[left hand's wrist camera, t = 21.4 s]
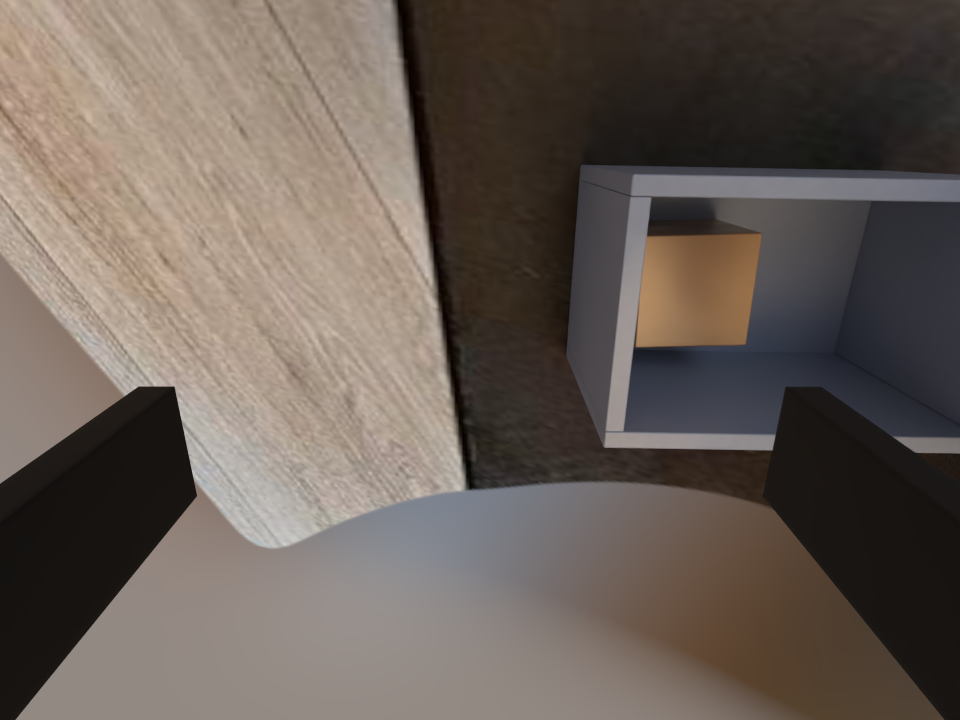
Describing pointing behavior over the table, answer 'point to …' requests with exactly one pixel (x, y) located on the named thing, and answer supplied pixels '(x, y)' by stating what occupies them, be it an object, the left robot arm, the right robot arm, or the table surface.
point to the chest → (775, 304)
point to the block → (696, 284)
